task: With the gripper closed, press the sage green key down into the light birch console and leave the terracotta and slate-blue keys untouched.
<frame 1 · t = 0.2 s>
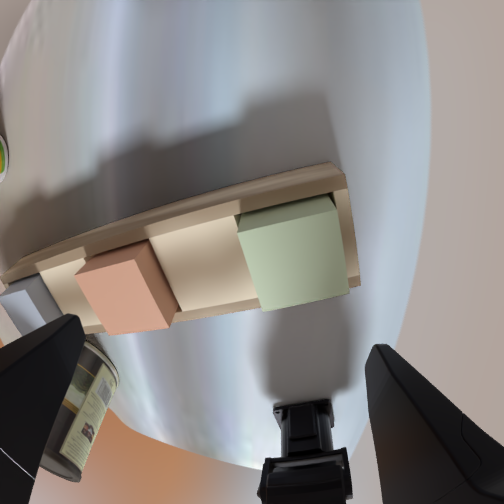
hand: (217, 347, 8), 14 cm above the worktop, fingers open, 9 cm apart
coffee can: (82, 363, 30), on the worktop
console: (150, 257, 23), on the worktop
terracotta key: (130, 284, 19), point 4 cm above the worktop, slide at 0.0 cm
sage key: (294, 248, 17), point 4 cm above the worktop, slide at 0.0 cm
slate key: (37, 305, 21), point 4 cm above the worktop, slide at 0.0 cm
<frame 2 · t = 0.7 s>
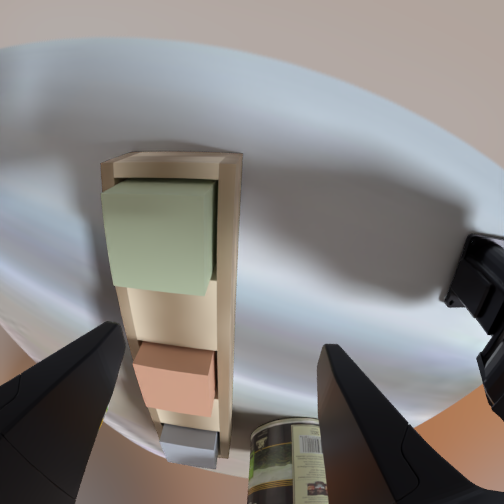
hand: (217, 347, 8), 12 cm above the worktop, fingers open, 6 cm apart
coffee can: (293, 436, 31), on the worktop
console: (190, 337, 24), on the worktop
terracotta key: (179, 372, 20), point 4 cm above the worktop, slide at 0.0 cm
sage key: (164, 230, 15), point 4 cm above the worktop, slide at 0.0 cm
slate key: (192, 440, 25), point 4 cm above the worktop, slide at 0.0 cm
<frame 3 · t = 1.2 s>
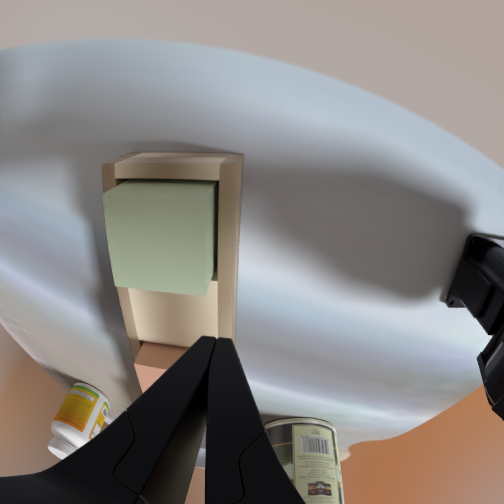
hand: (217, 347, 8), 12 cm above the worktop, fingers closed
supplement bottle: (92, 394, 30), on the worktop
coffee can: (294, 436, 31), on the worktop
console: (191, 337, 24), on the worktop
terracotta key: (180, 372, 20), point 4 cm above the worktop, slide at 0.0 cm
sage key: (165, 230, 15), point 4 cm above the worktop, slide at 0.0 cm
slate key: (193, 440, 25), point 4 cm above the worktop, slide at 0.0 cm
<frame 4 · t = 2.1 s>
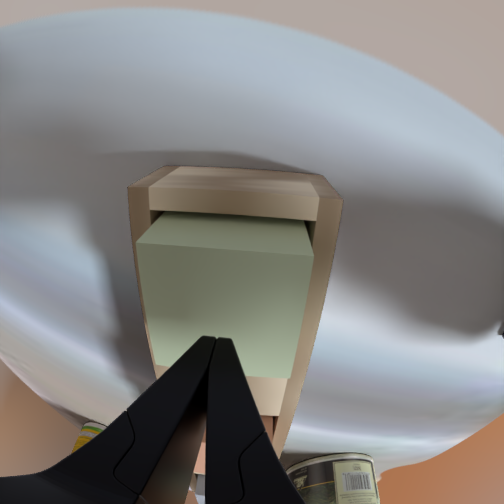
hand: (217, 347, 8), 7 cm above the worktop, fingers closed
supplement bottle: (106, 433, 26), on the worktop
coffee can: (329, 469, 26), on the worktop
console: (233, 388, 19), on the worktop
terracotta key: (227, 435, 16), point 4 cm above the worktop, slide at 0.0 cm
sage key: (228, 287, 11), point 4 cm above the worktop, slide at 0.0 cm
slate key: (228, 486, 21), point 4 cm above the worktop, slide at 0.0 cm
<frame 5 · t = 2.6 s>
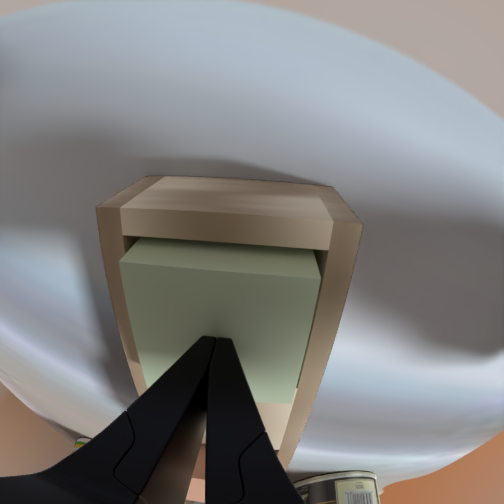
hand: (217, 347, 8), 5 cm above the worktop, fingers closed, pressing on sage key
coffee can: (331, 485, 24), on the worktop
console: (230, 413, 17), on the worktop
terracotta key: (223, 465, 14), point 4 cm above the worktop, slide at 0.0 cm
sage key: (224, 306, 10), point 3 cm above the worktop, slide at 1.0 cm, touching gripper
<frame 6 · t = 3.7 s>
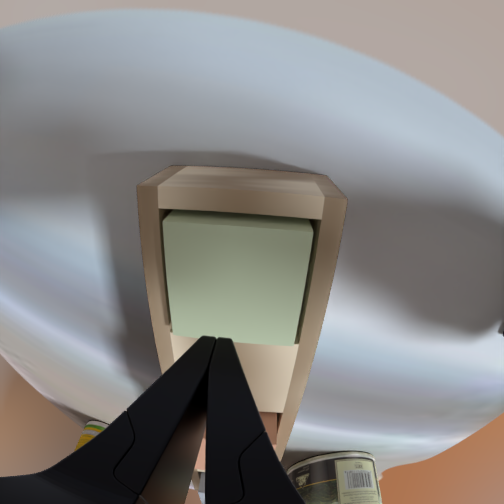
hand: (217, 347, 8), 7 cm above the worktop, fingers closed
supplement bottle: (109, 431, 26), on the worktop
coffee can: (331, 467, 27), on the worktop
console: (237, 385, 20), on the worktop
terracotta key: (231, 432, 16), point 4 cm above the worktop, slide at 0.0 cm
sage key: (239, 265, 13), point 2 cm above the worktop, slide at 1.5 cm
slate key: (230, 484, 21), point 4 cm above the worktop, slide at 0.0 cm
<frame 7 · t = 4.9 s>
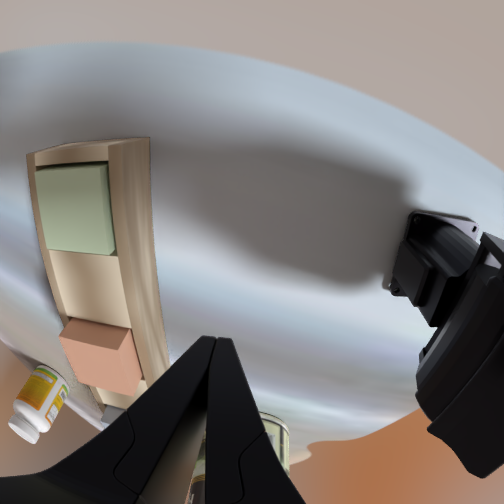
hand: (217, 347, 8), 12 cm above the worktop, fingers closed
supplement bottle: (54, 377, 30), on the worktop
coffee can: (245, 431, 30), on the worktop
console: (124, 319, 24), on the worktop
terracotta key: (105, 350, 20), point 4 cm above the worktop, slide at 0.0 cm
sage key: (86, 201, 17), point 2 cm above the worktop, slide at 1.5 cm
slate key: (135, 424, 25), point 4 cm above the worktop, slide at 0.0 cm
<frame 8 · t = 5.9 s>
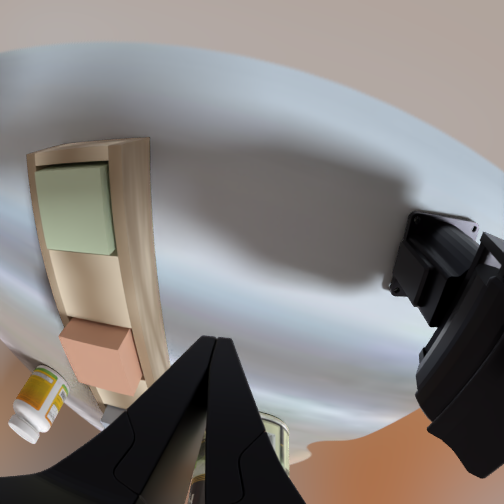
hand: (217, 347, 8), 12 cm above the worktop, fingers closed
supplement bottle: (54, 377, 30), on the worktop
coffee can: (245, 431, 30), on the worktop
console: (124, 318, 24), on the worktop
terracotta key: (106, 350, 20), point 4 cm above the worktop, slide at 0.0 cm
sage key: (86, 201, 17), point 2 cm above the worktop, slide at 1.5 cm
slate key: (135, 424, 25), point 4 cm above the worktop, slide at 0.0 cm
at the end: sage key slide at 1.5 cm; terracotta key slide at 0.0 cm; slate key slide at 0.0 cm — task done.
